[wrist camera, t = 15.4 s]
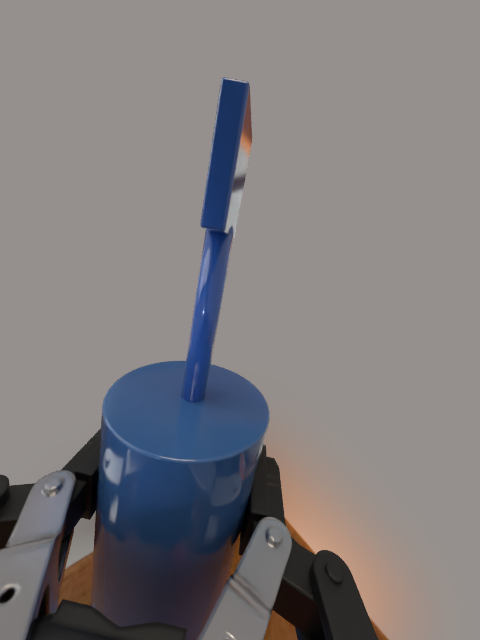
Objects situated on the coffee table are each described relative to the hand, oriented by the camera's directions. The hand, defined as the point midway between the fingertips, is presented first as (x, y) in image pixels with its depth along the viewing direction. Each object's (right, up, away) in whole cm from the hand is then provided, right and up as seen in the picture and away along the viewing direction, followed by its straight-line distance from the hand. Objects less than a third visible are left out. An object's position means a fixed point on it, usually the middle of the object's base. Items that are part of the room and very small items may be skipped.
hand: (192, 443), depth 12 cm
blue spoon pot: (-1, -7, -1) cm, 7 cm away
